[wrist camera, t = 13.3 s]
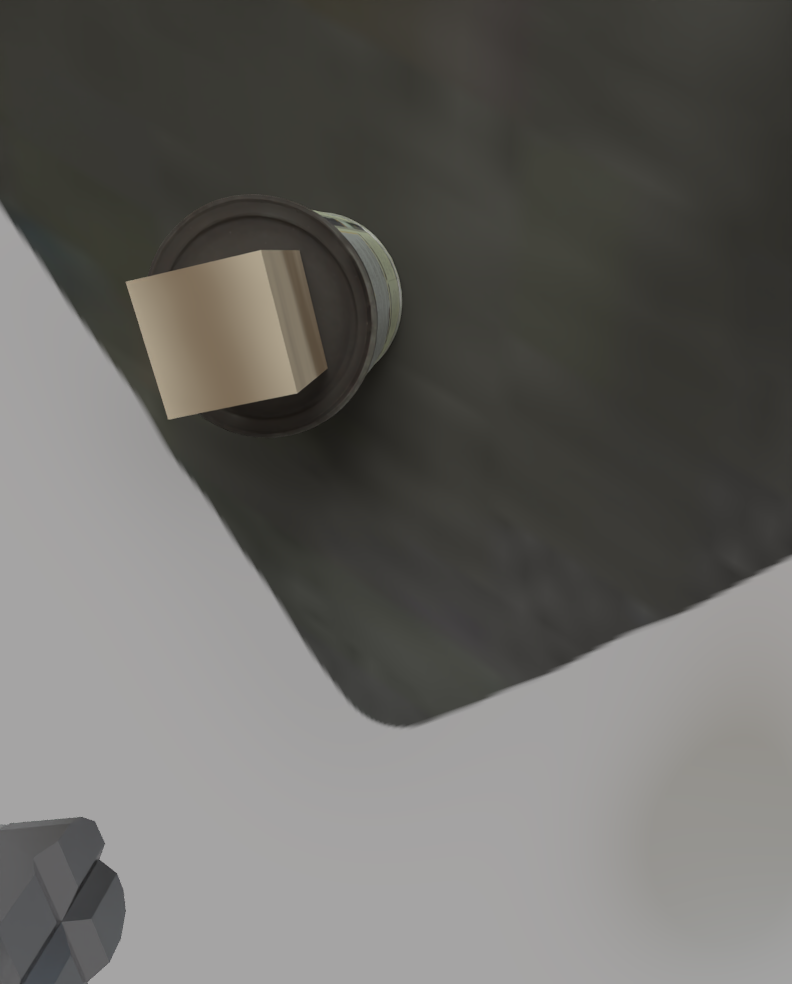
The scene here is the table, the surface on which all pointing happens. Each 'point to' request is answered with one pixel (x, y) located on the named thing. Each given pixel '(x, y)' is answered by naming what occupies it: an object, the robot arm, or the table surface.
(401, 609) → the table surface
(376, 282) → the coffee can
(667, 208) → the table surface
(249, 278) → the beech block
